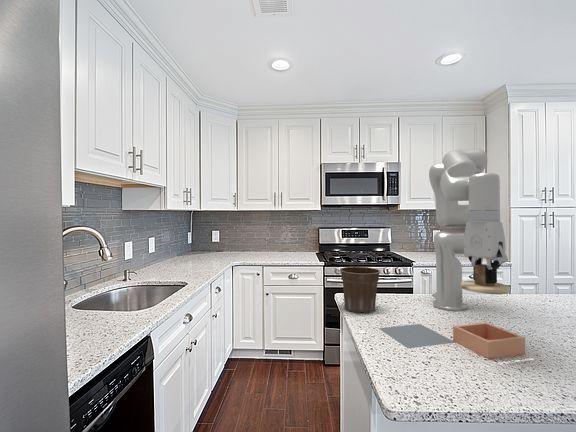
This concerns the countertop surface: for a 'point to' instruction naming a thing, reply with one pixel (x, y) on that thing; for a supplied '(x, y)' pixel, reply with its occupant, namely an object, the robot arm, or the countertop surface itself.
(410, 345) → the mat
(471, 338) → the salmon open box
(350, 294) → the plant pot
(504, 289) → the lid
